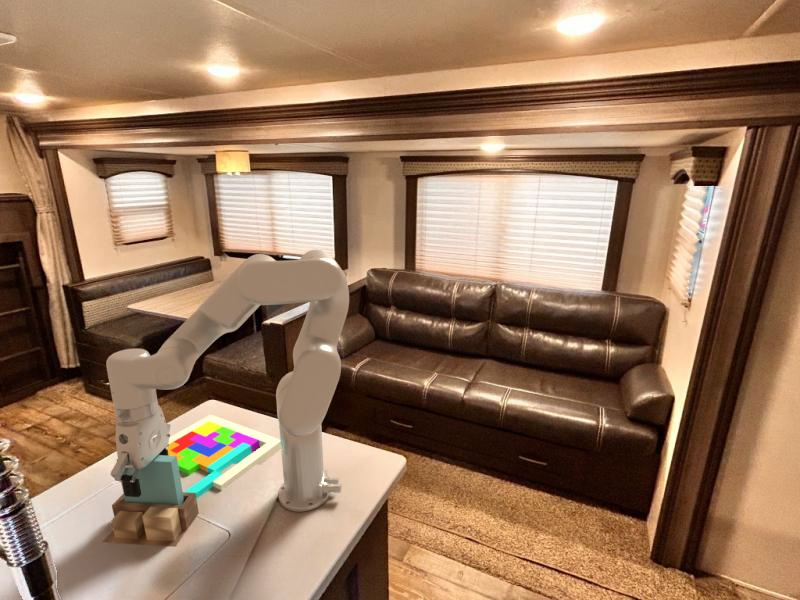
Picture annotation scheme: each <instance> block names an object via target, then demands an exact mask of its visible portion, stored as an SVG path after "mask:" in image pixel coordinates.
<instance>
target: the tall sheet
mask: <svg viewBox="0 0 800 600" xmlns="http://www.w3.org/2000/svg"><path fill="white" fill-rule="evenodd" d="M117 461H118V458H116V462H117ZM129 465H132V463H130V464H129ZM132 470H133V468H129V469H128V472H127V475H131V473H132ZM136 479H139V483H140V489H141V495H140V496H139V497H127V496H125V494H124V498H125V502H127V503H147V504H167V505H182V504H183V503H184V497H183V492H184V491H183V486H182V485H183V484H182V481H181V473H180V470H179V467H178V461H177V456H165V455H157V456H156V457H155V458H154V459H153V460H152V461H151V462H150V463H149V464H148V465H147V466H146V467H144V468H143V469H139V470H138V474H137V477H136ZM120 483H121V488H122V492H123V493H124V489H123V484H122V482H120ZM123 493H122V494H123Z"/></svg>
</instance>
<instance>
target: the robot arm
mask: <svg viewBox="0 0 800 600" xmlns="http://www.w3.org/2000/svg"><path fill="white" fill-rule="evenodd" d="M349 291H350V290H349V286H348V282H347V278H346V276H345V273H344V271H343V269H342V267H341V266H340V265H339V264H338V262H337V261H336V260H335V258H334V257H333V256H331V254H330V253H328V252H326V251H324V250H322V249H312V250H308V251H307V252H305V253H304V254H302V256H300V258H299V259H295V260H294V259H292V260H291V259H290V260H276V259H274V258H273V257H272V256H270V255H267V254H263V253H256V254H253V255H251V256H249V257H248V258H246V259H244V260H243V262H242V263H241V264H240V265H239V266H238V267H237V268H236V269H235V270H233V272H232V273H231V274H230V275H229V276H228V277H227V278H226V279H225V280H224V281H223V282H222V283H221V284H220V285H219V286H218V287H217V289H216V290H214V291H213V292H212V294H210V296H208V297H207V298H206V299H205V300H204V302H203V303H202V304H201V305H199V307H198V308H197V309H196V311H195V312H193V313H192V314H191V315H190V316H189V317H188V318H187V319H186V320H185V321H184V322H183V323H182V324H181V325H180V326H179V327H178V328H177V329H176V331H174V332H173V334H171V335H170V336H169V337H168V338H167V339H166V340H165V341H164V343H163V344H162V345H161V347H160V348H159V349H158V351H157V352H156V353H154V354H150V353H149V351H148V350H146V349H144V348H126V349H122V350H119V351H117V352H113V353H112V354H111V355H109V356H108V358H106V359H107V360H106V372H107V377H108V382H109V388H110V394H111V398H112V399H111V400H112V405H113V410H114V416H115V422H116V423H115V446H116V447H115V448H116V454H117V455H116V456H117V459H118V461H117V460H116V462H115V465H114V466H113V468H112V470H111V471H110V476H111V477H112V478H113V479H114V480H115V481H117V482H120V483H121V482H122V484H123V488H122V490H123V489H124V494H125V496H127V497H139V496H140V495H141V489H140V483H139V479H136V477H137V474H138V470H139V469H143V468H144V467H146V466H147V465H148V464H149V463H150V462H151V461H152V460H153V459H154V458H155V457H156V456H157V455H165V456H169V455H168V450H166V449H168V447H169V444H168V443H169V437H171V435H170V432H171V424H170V423H167V421H166V417H165V416H164V412H163V410H162V407H161V406H160V405H159V402H158V396H157V390H167V391H168V390H176V389H178V388H180V387H183V386H184V384H186V383H187V382H188V381H189V379H190V376H191V373H192V372H193V369H194V365H195V364H196V361H197V360H198V359H199V358H200V357H201V356H202V354H203V353H204V352H205V351H206V350H207V349H208V348H209V347H210V346H211V345H212V344H213V343H214V342H215V341H216V340H218V339H219V338H220V337H221V336H223V335H225V334H227V333H232V332H235V331H237V330H238V329H239V328H240V327H241V326H242V325H243V324H244V323H245V322H246V321H247V320H248V319H249V318H250V317H251V315H253V314H254V313H255V312H256V310H258V309H259V307H260V306H273V305H274V306H276V305H288V304H296V303H297V304H301V303H309V306H308V309H307V312H306V314H305V318H304V321H303V324H302V327H301V329H300V331H299V335H298V337H297V340H296V341H295V344H294V346H293V349H292V359H293V370H292V371H290V372H288V373H286V374H285V375H284V376H282V378H281V379H280V381H279V382H278V384H277V388H276V393H275V399H276V400H275V401H276V413H277V420H278V426H279V437H280V438H279V439H280V440H281V450H280V451H281V462H282V463H281V464H282V473H283V474H282V475H283V483H282V485H280V488H279V489H278V494H277V495H278V496H277V497H278V502H279V503H280V505H281V506H282V507H283V508H284V509H287V510H288V511H291V512H308V511H310V510H314V509H317V508H318V507H320V506H322V505H323V504H324V503H325V502H326V501H327V500H328V499H329V498H330V496H331V494H332V493H337V494H339V493H340V494H341V493H342V487H343V484H342V483H339V482H340V478H339V477H330V476H328V470H325V468H324V454H323V453H324V451H323V450H324V449H323V431H322V423H323V421H324V419H325V417H326V415H327V412H328V409H329V407H330V405H331V402H332V400H333V397H334V394H335V391H336V389H337V385H338V383H339V381H340V377H341V370H342V362H341V357H340V354H339V352H338V345H339V340H340V337H341V334H342V331H343V328H344V325H345V322H346V319H347V316H348V312H349V306H350V305H349V304H350V292H349ZM130 463H132V465H129V464H130ZM129 468H133V470H132V473H131V475H127V472H128V469H129ZM122 484H121V485H122Z"/></svg>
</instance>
